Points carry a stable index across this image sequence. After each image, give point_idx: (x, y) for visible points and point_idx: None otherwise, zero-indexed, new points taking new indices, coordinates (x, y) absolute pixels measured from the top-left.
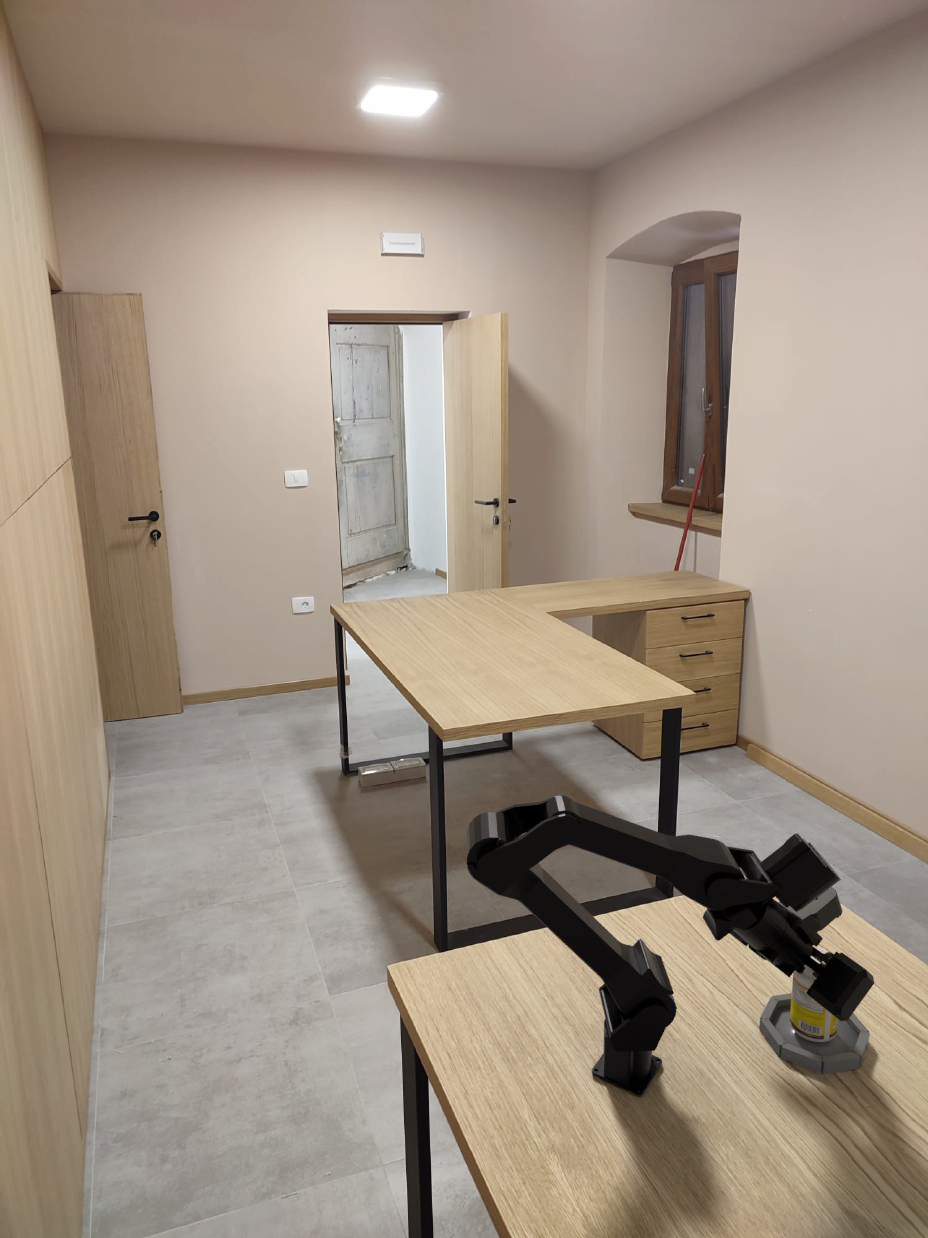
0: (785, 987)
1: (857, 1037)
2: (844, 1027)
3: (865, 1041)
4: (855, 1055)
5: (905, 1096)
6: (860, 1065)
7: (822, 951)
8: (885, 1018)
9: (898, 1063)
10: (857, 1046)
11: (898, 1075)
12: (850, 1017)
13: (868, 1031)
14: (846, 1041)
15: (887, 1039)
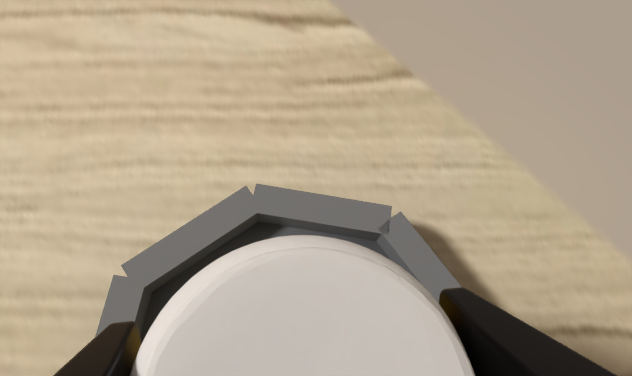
0: (27, 293)
1: (373, 248)
2: None
3: (433, 257)
4: None
5: (610, 285)
6: None
7: (239, 302)
8: (310, 92)
9: (485, 200)
10: None
11: (529, 238)
12: (309, 215)
13: (390, 208)
14: None
15: (389, 154)
